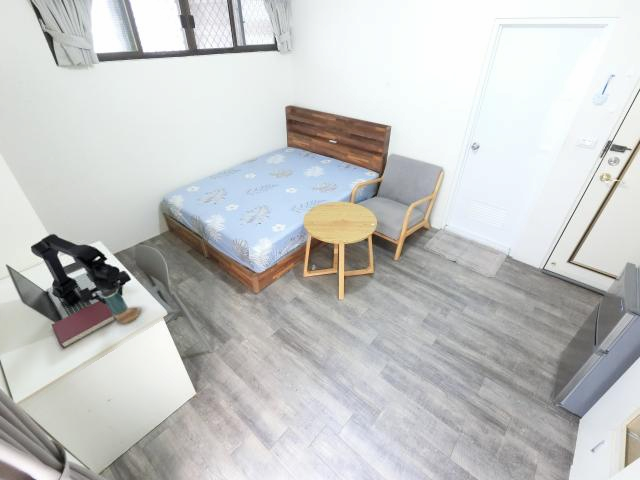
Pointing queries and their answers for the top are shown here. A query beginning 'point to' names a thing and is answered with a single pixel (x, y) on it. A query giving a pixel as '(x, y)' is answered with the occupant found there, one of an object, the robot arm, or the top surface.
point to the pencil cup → (115, 303)
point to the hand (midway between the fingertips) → (113, 299)
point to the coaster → (128, 315)
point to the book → (82, 323)
